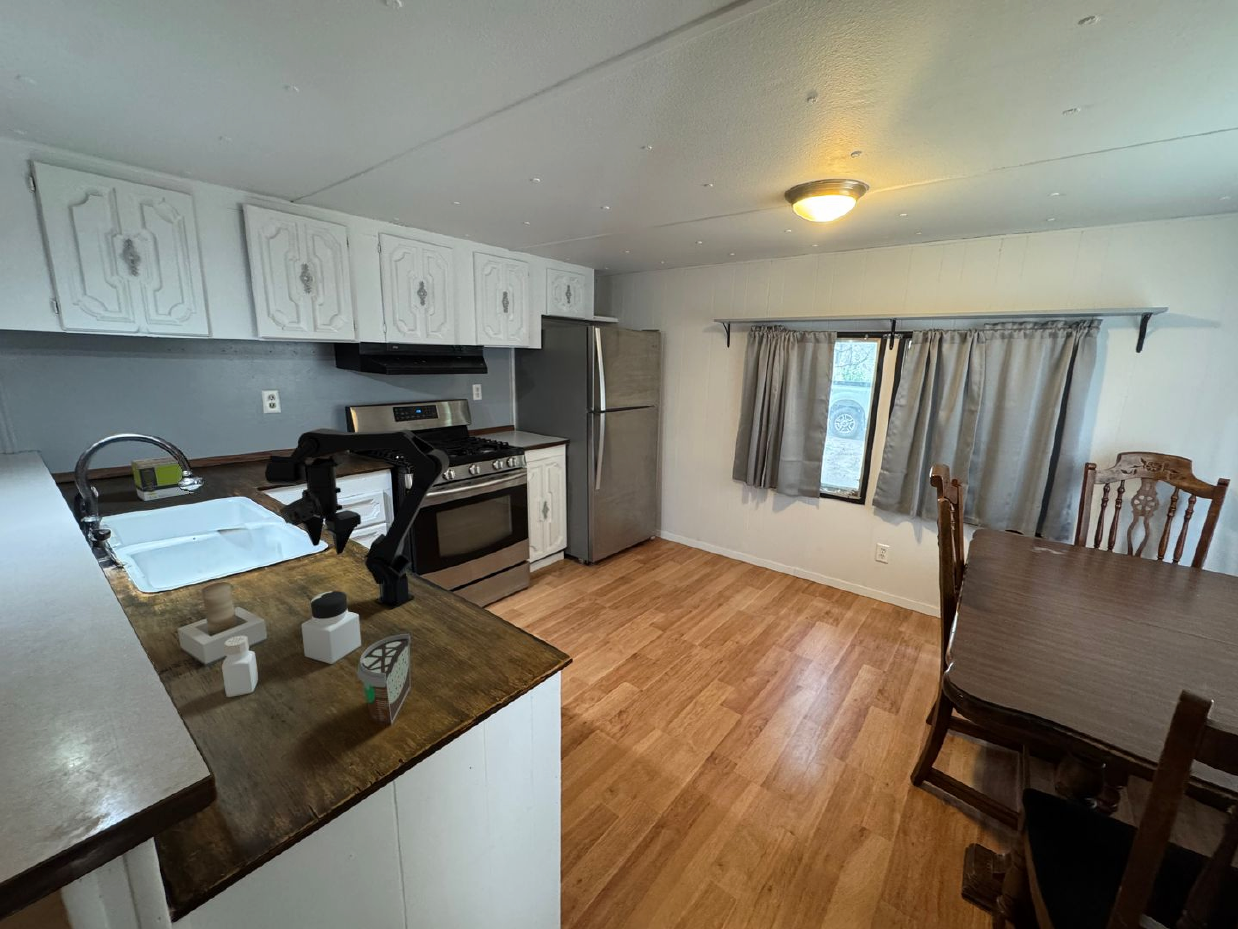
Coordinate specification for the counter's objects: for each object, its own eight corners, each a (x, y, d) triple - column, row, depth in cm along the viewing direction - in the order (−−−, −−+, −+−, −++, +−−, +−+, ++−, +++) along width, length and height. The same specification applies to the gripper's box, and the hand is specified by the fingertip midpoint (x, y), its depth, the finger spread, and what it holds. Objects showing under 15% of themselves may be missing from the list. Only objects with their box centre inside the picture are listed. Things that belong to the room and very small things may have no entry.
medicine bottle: (362, 645, 101) (357, 591, 99) (331, 665, 94) (326, 607, 92) (335, 638, 103) (330, 584, 101) (304, 657, 97) (297, 600, 94)
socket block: (267, 640, 102) (264, 620, 101) (206, 666, 93) (203, 644, 92) (241, 625, 107) (238, 606, 106) (181, 649, 98) (177, 628, 97)
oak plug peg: (244, 638, 101) (236, 583, 99) (223, 650, 97) (215, 593, 95) (225, 635, 102) (217, 581, 100) (204, 647, 98) (195, 590, 95)
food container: (378, 682, 90) (374, 632, 88) (413, 682, 90) (410, 632, 88) (347, 733, 78) (342, 676, 76) (388, 731, 78) (384, 675, 76)
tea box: (186, 489, 205) (180, 454, 202) (194, 493, 199) (188, 457, 196) (136, 496, 193) (130, 459, 190) (143, 501, 187) (137, 463, 184)
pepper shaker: (225, 699, 84) (217, 649, 82) (232, 685, 88) (225, 636, 86) (253, 693, 86) (247, 644, 84) (259, 680, 90) (253, 632, 88)
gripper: (260, 485, 110) (268, 551, 113) (308, 499, 101) (316, 571, 105) (311, 476, 120) (317, 537, 123) (360, 488, 111) (365, 554, 114)
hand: (327, 549), depth 116 cm, fingers open, 9 cm apart
